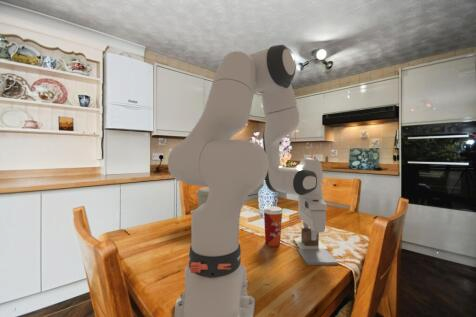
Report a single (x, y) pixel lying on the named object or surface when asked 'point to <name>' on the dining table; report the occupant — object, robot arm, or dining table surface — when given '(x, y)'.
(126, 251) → the dining table surface
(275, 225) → the paper cup
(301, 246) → the pad
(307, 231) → the walnut cube
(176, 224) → the dining table surface
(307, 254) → the pad
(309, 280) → the dining table surface
